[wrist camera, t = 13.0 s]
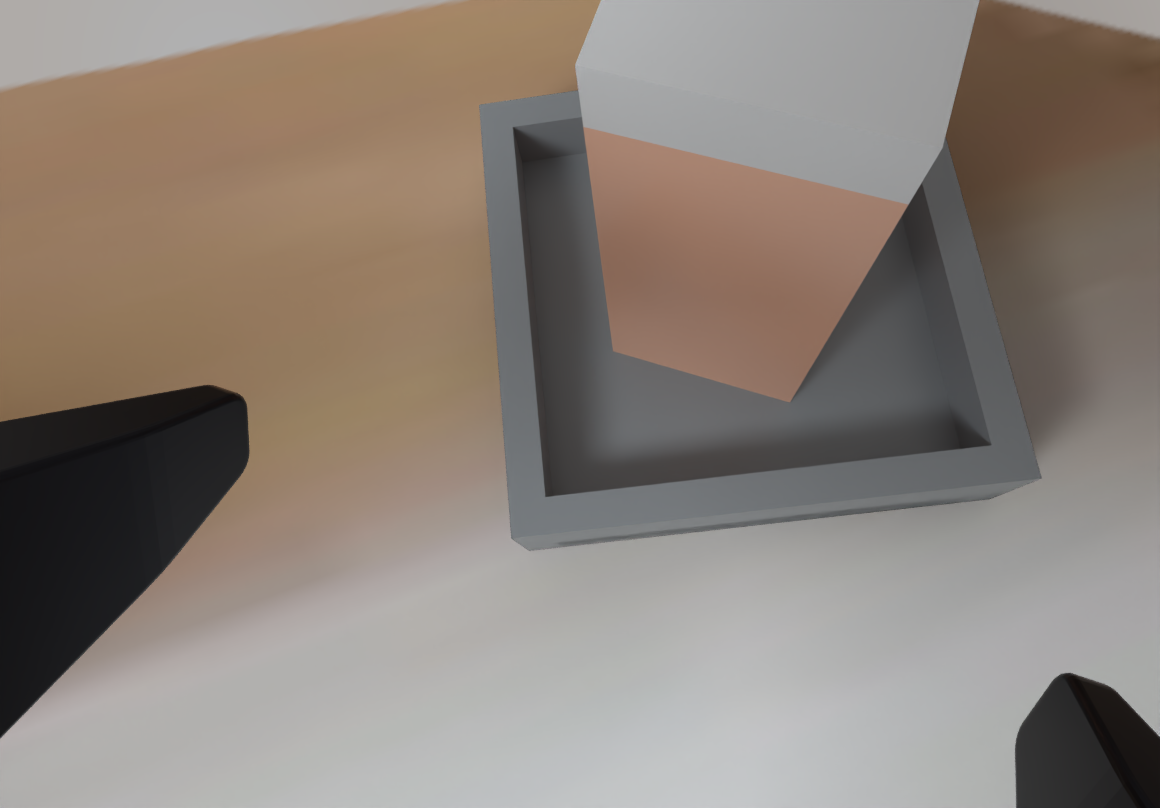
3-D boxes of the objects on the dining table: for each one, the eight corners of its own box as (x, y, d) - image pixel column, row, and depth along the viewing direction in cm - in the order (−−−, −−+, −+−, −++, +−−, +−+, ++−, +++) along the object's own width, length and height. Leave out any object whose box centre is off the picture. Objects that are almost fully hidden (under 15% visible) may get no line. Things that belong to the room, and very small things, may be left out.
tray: (990, 498, 18) (1041, 478, 16) (529, 550, 19) (511, 538, 16) (888, 107, 21) (918, 40, 19) (497, 162, 22) (479, 104, 20)
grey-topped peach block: (835, 241, 19) (1014, -142, 10) (789, 402, 18) (942, 147, 9) (666, 199, 20) (679, -196, 11) (613, 351, 19) (575, 65, 9)
